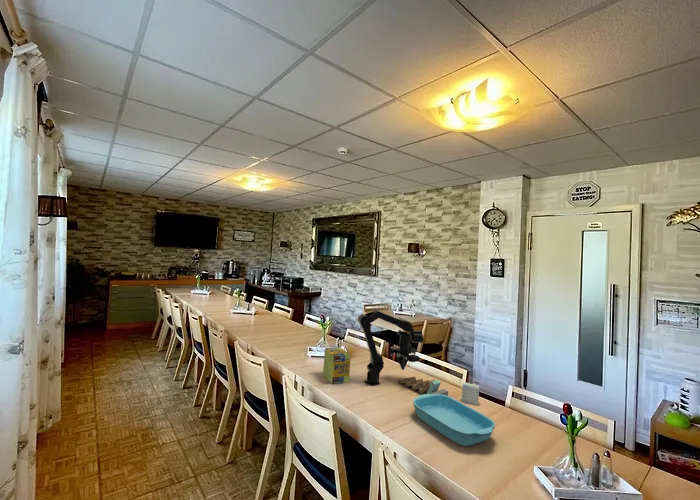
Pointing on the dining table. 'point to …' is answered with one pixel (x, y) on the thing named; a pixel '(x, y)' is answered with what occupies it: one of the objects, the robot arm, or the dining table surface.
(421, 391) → the domino
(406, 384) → the domino
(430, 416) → the casserole dish
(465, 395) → the medicine box
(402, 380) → the domino
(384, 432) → the dining table surface
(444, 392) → the end block
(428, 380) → the domino
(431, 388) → the light blue flat block
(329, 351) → the protein box
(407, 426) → the dining table surface
